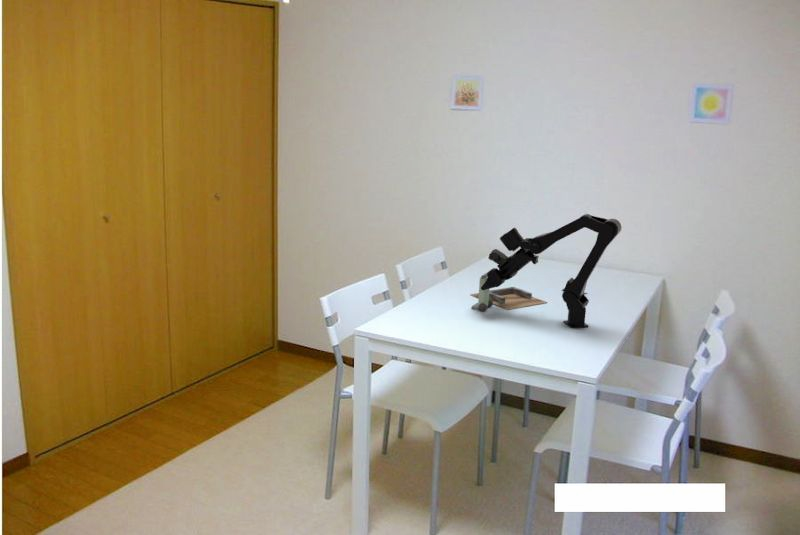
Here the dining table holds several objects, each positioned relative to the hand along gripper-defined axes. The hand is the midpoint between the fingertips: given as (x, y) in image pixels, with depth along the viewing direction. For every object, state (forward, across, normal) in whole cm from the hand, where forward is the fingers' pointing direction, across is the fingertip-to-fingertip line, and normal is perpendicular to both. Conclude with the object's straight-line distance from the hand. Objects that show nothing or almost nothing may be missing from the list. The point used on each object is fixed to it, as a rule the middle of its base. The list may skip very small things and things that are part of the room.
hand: (486, 286), depth 250 cm
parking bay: (+3, -17, +9) cm, 19 cm away
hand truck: (+6, 0, +6) cm, 9 cm away
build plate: (-10, -40, +23) cm, 48 cm away
